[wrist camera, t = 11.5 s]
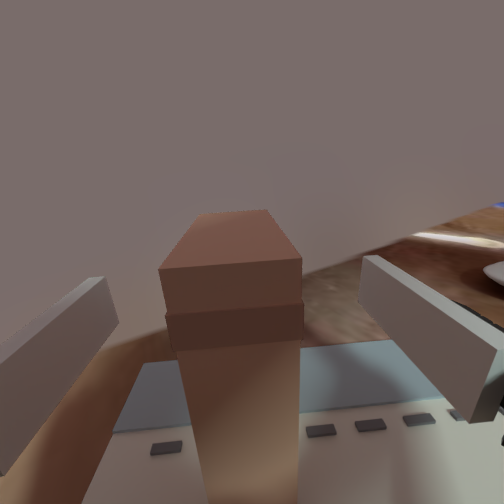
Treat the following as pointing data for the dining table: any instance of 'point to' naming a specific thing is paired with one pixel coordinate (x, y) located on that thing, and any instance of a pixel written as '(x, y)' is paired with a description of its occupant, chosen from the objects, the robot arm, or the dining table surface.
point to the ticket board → (318, 437)
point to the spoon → (495, 272)
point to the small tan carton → (239, 352)
